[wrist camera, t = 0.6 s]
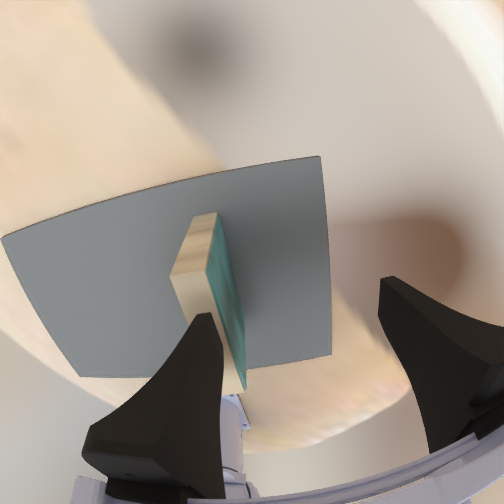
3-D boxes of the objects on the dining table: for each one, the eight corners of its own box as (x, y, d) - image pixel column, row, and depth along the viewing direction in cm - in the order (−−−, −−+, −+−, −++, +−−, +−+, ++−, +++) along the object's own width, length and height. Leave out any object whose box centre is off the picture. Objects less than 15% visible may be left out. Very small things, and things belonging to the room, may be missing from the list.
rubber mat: (330, 350, 26) (331, 354, 26) (81, 373, 27) (79, 376, 27) (318, 155, 18) (320, 156, 18) (3, 236, 19) (0, 238, 19)
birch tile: (245, 317, 23) (247, 392, 16) (223, 320, 23) (219, 395, 16) (219, 211, 19) (207, 269, 12) (193, 216, 19) (169, 276, 12)
